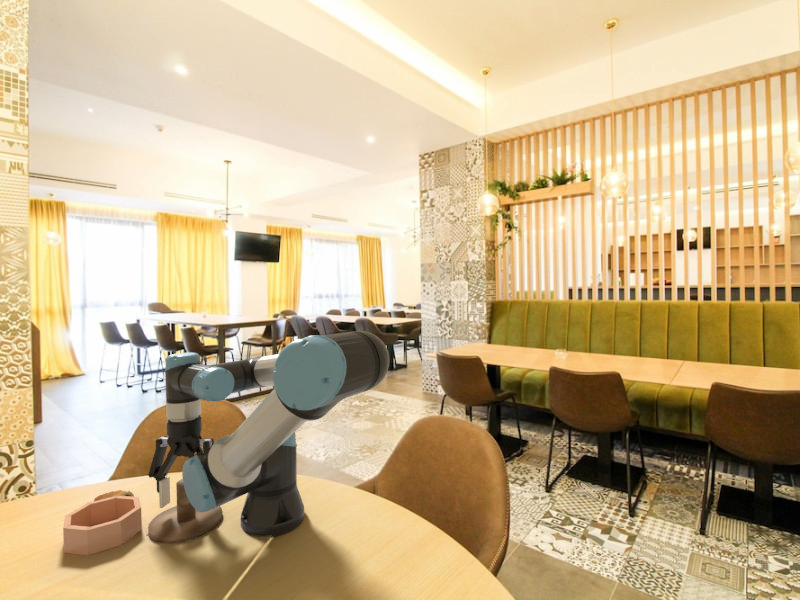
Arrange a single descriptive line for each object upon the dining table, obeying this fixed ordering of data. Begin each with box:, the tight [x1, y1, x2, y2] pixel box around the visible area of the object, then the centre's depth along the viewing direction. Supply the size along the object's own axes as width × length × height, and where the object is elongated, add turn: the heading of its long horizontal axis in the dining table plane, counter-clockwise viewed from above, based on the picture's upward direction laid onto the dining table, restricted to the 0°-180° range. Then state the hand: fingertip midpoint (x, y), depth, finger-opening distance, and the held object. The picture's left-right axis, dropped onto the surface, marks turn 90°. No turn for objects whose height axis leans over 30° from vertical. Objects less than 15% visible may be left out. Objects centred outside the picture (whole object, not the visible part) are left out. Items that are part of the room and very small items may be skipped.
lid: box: [147, 478, 223, 544], centre depth 102 cm, size 16×16×10 cm
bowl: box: [62, 496, 143, 556], centre depth 97 cm, size 14×14×6 cm
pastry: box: [93, 489, 135, 502], centre depth 112 cm, size 9×7×4 cm
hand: (186, 506), depth 102 cm, fingers open, 11 cm apart
